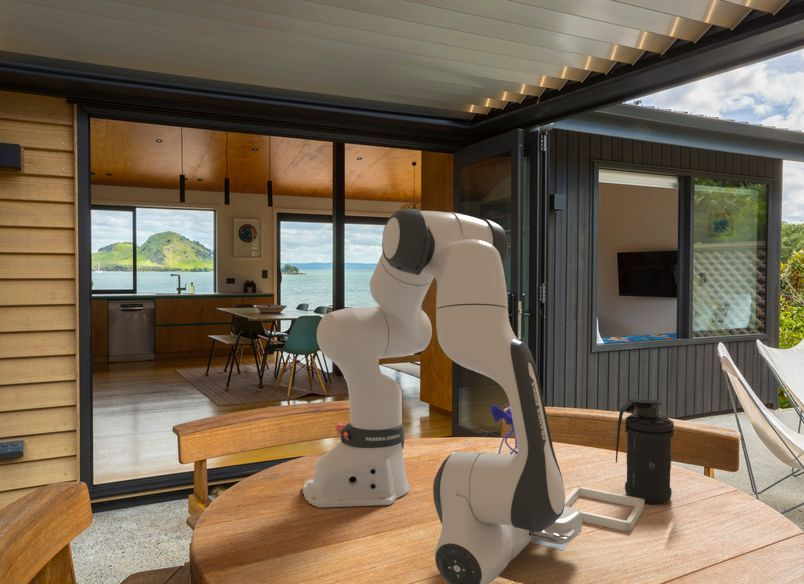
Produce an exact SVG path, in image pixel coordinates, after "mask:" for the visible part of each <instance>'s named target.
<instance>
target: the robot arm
mask: <svg viewBox="0 0 804 584" xmlns="http://www.w3.org/2000/svg"><path fill="white" fill-rule="evenodd" d="M508 243H509V242H508V238H507V234H506V232H505V230H504V228H503V227H502V225H499V224H498V223H496V222H494V221H492V220H490V219H487V218H483V217H482V218H477V217H475V216H470V215H467V214H463V213H457V212H452V211H448V212H446V211H445V212H444V211H437V210H419V209H418V208H404V209H403V208H402V209H398V210H395V211H394V212H393V213H392V215H391V216H390V217H388V219H387V220H386V223H385V226H384V228H383V231H382V240H381V248H382V253H381V255H380V258H379V259H378V262H377V264H376V266H375V269H374V271H373V273H372V276H371V277H370V281H369V291H370V294H371V296H372V299H373V300H374V301H375V303H376V304H377V306H370V307H366V306H365V307H346V308H342V309H337V310H334V311H330V312H327V313H325V314H324V315H323V317H321V319H320V321H319V323H318V325H317V328H316V341H317V344H318V348H319V350H320V351H321V353H322V354H323V355H324V357H326V358H327V359H328V360H330V361H331V362H333V363H334V364H335V366H337V368H338V369H339V370H340V372H341V373H342V376H343V377H344V379H345V382H346V386H347V390H348V400H349V401H348V402H349V422H348V423H346V425H344V423H342V422H338V423H336V425H335V431H336V432H337V433H338V434H339V435H340V442H339V443H337V444H336V445H335V446H333V447H332V448H331V449H330V450H328V451H327V452H326V453H325V454H324V455H322V456H321V457H320V458H319V459H318V460H317V461H316V465H315V468H314V472H313V478H312V479H308V480H306V482H305V483H304V484H303V486H302V487H303V488H302V495H303V494H304V496H303V498H304V497H305V498H304V500H305V501H306V500H307V501H308V502H309V503H308V502H307V501H306V502H307V503H308V504H310V503H311V504H312V505H311V504H310V505H311V506H313V505H314V507H315V506H316V508H339V507H341V508H342V507H364V506H365V507H368V506H389V505H392V504H393V503H394V502H395V501H396V500H397V499H398V498H401V497H403V496H404V495H406V494H407V493H408V492H409V490H410V485H409V482H408V481H409V480H408V478H407V474H406V468H405V460H404V459H405V458H404V451H403V449H404V448H405V446H404V445H405V426H404V425H405V423H404V422H403V420H402V418H403V416H402V413H403V411H402V409H403V408H402V407H403V402H402V401H403V398H402V397H403V395H402V394H403V392H402V387H400V384H399V383H398V382H397V381H396V380H395V379H394V378H392V377H390V376H388V375H386V374H384V373H383V372H381V368H380V364H379V362H380V360H381V359H390V358H392V359H393V358H403V357H407V356H411V355H414V354H417V353H420V352H423V351H425V350H426V349H427V347H428V346H429V345H430V343H431V339H432V336H433V335H432V334H433V327H432V323H431V319H430V318H429V316H428V315H427V313H426V312H425V311H424V310H422V304H423V301H424V299H425V297H426V295H427V293H428V290H429V289H430V288H431V287H430V286H431V284H432V283H433V280H434V278H435V281H436V296H435V297H436V299H435V300H436V301H435V310H436V311H435V320H436V321H435V327H436V328H435V330H436V336H437V341H438V344H439V347H440V348H441V349H442V351H443V352H444V353H445V355H446V356H447V357H448V358H449V359H450V360H452V361H453V362H454V363H456V364H457V365H459V366H461V367H462V368H464V369H467V370H471V371H473V372H475V373H477V374H480V375H483V376H485V377H487V378H489V379H491V380H493V381H495V382H496V384H498V385H500V387H501V388H502V389H503V391H504V393H506V396H507V400H508V402H509V408H510V409H511V414H512V419H513V424H514V430H515V435H516V440H517V446H518V449H517V451H518V454H515V453H514V454H515V455H514V454H513V453H512V454H510V453H509V454H507V453H500V454H498V453H488V452H481V451H480V452H479V451H459V450H458V451H457V450H456V451H454V452H452V453H450V454H449V455H447V457H445V459H444V460H443V462H441V465H440V466H439V468H438V470H437V472H436V474H435V476H434V479H433V484H432V485H433V486H432V491H433V492H432V493H433V502H434V507H435V511H436V513H437V516H438V518H439V520H440V523H441V530H440V532H441V533H440V536H439V538H438V541H437V544H436V548H435V551H434V561H435V566H436V569H437V571H438V572H439V574H440V575H441V577H442V578H443V579H444V580H445V581H446V583H448V584H491V583H492V582H493V581H494V580H495V579H497V578H498V577H499V576H500V575H501V574H502V572H503V571H504V570H505V569H506V568H507V567H508V565H509V563H510V562H511V561H513V560H514V559H516V557H517V556H519V554H520V553H521V552H522V551H523V550H524V549H525V548H526V547H527V545H529V544H530V540H531V538H534V539H538V540H541V541H545V542H549V543H553V544H566V543H568V542H569V543H570V542H571V541H572V540H574V539H576V537H577V536H579V534H581V532H582V528H583V525H582V513H581V512H580V511H581V510H580V509H578V508H576V507H571V506H570V507H567V506H565V498H566V491H565V485H564V480H563V476H562V473H561V469H560V466H559V462H558V460H557V458H556V454H555V449H554V445H553V440H552V436H551V431H550V426H549V422H548V418H547V412H546V407H545V402H544V398H543V397H544V396H543V393H542V388H541V383H540V379H539V375H538V370H537V367H536V363H535V360H534V357H533V355H532V352H531V350H530V348H529V346H528V345H527V343H525V342H523V341H521V340H520V339H518V337H517V336H516V335H515V332H514V331H513V329H512V328H513V327H512V326H511V323H510V318H509V306H508V305H509V304H508V291H507V284H506V283H507V282H506V276H505V272H504V271H505V270H504V265H505V263H506V260H507V257H508V250H509V244H508ZM569 543H568V544H569Z"/></svg>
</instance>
